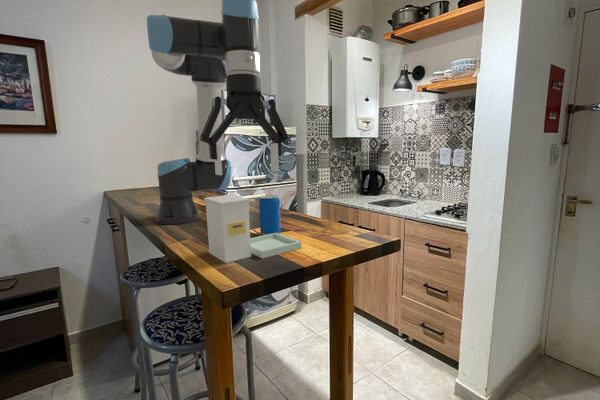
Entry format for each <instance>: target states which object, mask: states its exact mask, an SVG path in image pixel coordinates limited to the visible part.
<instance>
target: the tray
mask: <svg viewBox="0 0 600 400" xmlns="http://www.w3.org/2000/svg"><path fill="white" fill-rule="evenodd" d="M250 241H251V255H254V256H256V257H258V258H261V259H262V260H263V259H267V258H270V257H273V256H277V255H280V254H284V253H285V254H286V253H289V252H291V251H296V250H300V249H302V241H300V240H298V239H294V238H293V237H292V238H291V237H290V236H286V235H285V234H280V233H279V234H278V233H273V234H268V235H263V234H262V235H259V236H256V237H255V236H254V237H250Z"/></svg>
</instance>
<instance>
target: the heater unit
mask: <svg viewBox="0 0 600 400" xmlns="http://www.w3.org/2000/svg"><path fill="white" fill-rule="evenodd" d="M203 201H204V202H205V211H206V212H205V213H206V224H207V237H208V238H207V239H208V241H207V242H208V252H209V254H210V255H212V256H213V257H215V258H217V259H218V260H220V261H221V262H224V263H225V264H228V263H231V262H235V261H239V260H240V261H241V260H242V259H243V260H244V259H248V258H251V257H252V253H251V241H250V238H251V227H250V226H251V223H250V207H249V204H250V203H251V199H250V198H246V197H242V196H238V195H235V194H234V195H233V194H226V195H225V194H224V195H218V196H209V197H208V196H207V197H203Z"/></svg>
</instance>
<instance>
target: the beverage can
mask: <svg viewBox="0 0 600 400" xmlns="http://www.w3.org/2000/svg"><path fill="white" fill-rule="evenodd" d="M258 204H259V205H258V206H259V207H258V208H259V209H258V211H259V226H260V227H259V231H260V233H261V234H262V236H263V235H268V234H273V233H278V234H280V233H281V230H282V227H281V226H282V225H281V223H282V221H281V201H280V198H279V195H277V194H276V195H275V194H268V195H261V196H260V197H259V200H258Z"/></svg>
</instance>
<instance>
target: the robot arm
mask: <svg viewBox="0 0 600 400" xmlns="http://www.w3.org/2000/svg"><path fill="white" fill-rule="evenodd" d="M257 3H258V2H257V1H256V0H222V1H221V12H220V13H221V19H222V21H221V22H218V21H212V20H210V21H208V20H202V19H201V20H200V19H192V18H184V17H175V16H169V15H165V14H160V15H159V14H157V15H156V14H149V15H147V17H146V29H147V41H148V46H149V47H148V48H149V49H150V51H151V56H152V58H153V61H154V62H155V63H156V64H157V66H159V68H161V69H163V70H165V71H167V72H170V73H172V74H175V75H179V76H190V77H191V82H192V83H193V85H194V86H195V87H196V104H197V126H198V147H199V149H198V151H199V152H198V154H196V156H195V161H191V159H190V158H188V157H185V158H178V159H173V160H172V159H171V160H167V161H163V162H160V163H158V165H157V174H156V176H157V179H158V190H159V191H158V192H159V207H158V211H157V214H156V221H157V224H160V225H178V224H187V223H191V222H195V221H197V220H199V218H200V216H199V211H198V209H197V206H196V203H195V201H194V200H193V199H194V198H193V193H194V192H195V193H197V192H198V193H199V192H210V191H220V190H226V189H228V188H229V186H230V184H231V180H232V163H231V161H230V160H229V159H228V158H227V155H226V154H224V152H223V135H224V134H225V132H226V131H227V130H228V128H229V127H230V126H231V124H232V123H233V122H234V121H235V119H236V120H249V121H250V120H251V121H252V120H254V121H255V122H256V123H257V124H258V125H259V126H260V128H261V129H262V130H263V131H264V132H265V133H266V135H267V137H269V139H270V140H271V141H272V143H271V142H270V143H269V147H270V149H269V151H270V170H271V172H280V169H279V168H280V165H279V157H282V143H284V141H287V140H289V135H288V132H287V131H286V129H285V126H284V125H283V122H282V119H281V118H280V116H279V112H278V110H277V109H276V101H275V99H273V98H272V99H268V100H263V99H262V80H261V77H260V74H261V60H260V59H261V58H260V56H261V55H260V32H259V31H260V30H259V29H260V28H259V19H260V16H259V11H258V10H259V9H258V4H257ZM224 85H226V98H222V88H223V87H224ZM224 106H226V108H227V109H228V110H229V112H228V113H227V114H226V116H225V118H224V119H223V116H222V115H223V110H222V109H223V108H224ZM263 108H264V110H265V111H266V112H267V115H268V117H269V119H270V121H271V124H272V125H271V124H270V122H269V121H268V119H266V117H265V115H264V114H263V112H262V111H261V110H262V109H263Z"/></svg>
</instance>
